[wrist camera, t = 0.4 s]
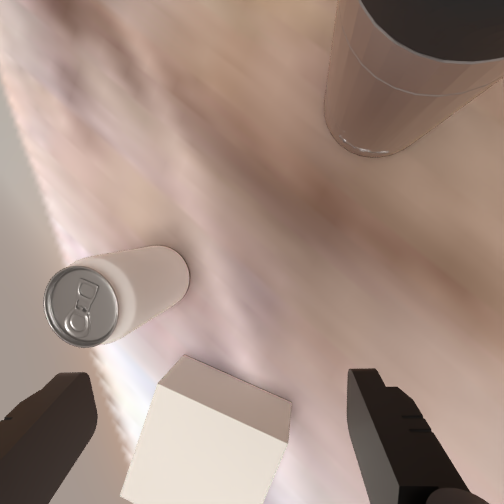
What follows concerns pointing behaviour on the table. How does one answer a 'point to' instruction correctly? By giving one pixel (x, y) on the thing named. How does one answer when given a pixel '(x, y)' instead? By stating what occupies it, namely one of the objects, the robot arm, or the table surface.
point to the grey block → (207, 440)
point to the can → (113, 294)
